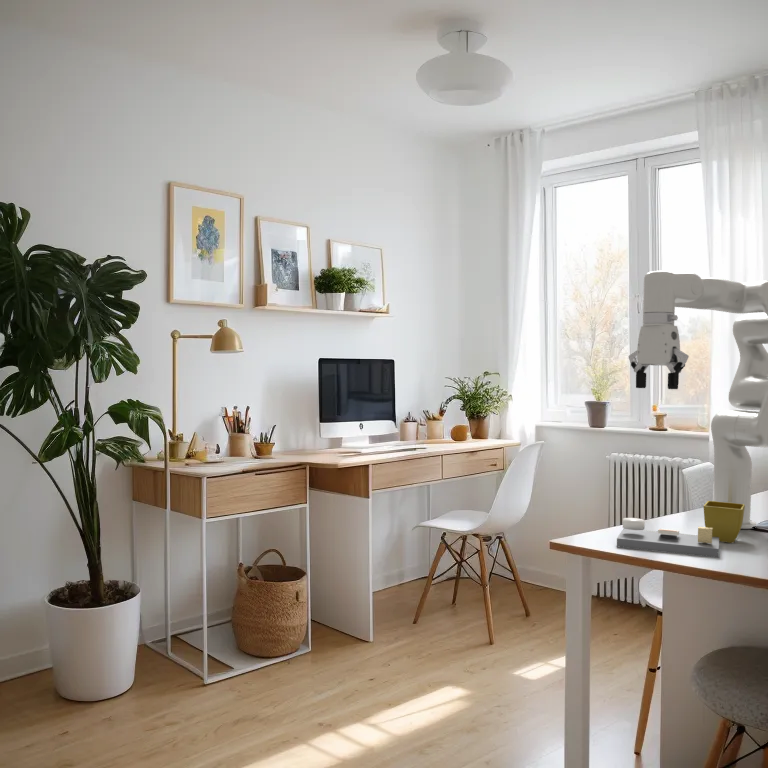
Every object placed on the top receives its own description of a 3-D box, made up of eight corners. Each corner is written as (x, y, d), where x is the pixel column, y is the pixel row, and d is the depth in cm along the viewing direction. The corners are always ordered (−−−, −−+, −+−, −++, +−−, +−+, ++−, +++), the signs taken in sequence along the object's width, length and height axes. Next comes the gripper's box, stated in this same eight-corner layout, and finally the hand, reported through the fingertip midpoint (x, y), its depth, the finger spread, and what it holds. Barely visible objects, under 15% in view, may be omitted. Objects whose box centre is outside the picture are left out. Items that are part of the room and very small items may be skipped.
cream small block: (697, 540, 179) (698, 526, 179) (711, 541, 178) (712, 527, 178) (697, 541, 177) (698, 528, 177) (711, 543, 176) (712, 529, 176)
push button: (623, 525, 190) (624, 517, 190) (645, 527, 188) (645, 519, 188) (621, 528, 185) (621, 520, 185) (643, 530, 183) (643, 522, 183)
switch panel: (623, 535, 194) (623, 525, 194) (718, 545, 185) (719, 534, 185) (616, 546, 181) (616, 535, 181) (718, 557, 172) (719, 546, 172)
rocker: (659, 531, 187) (659, 528, 187) (679, 533, 185) (679, 530, 185) (657, 533, 181) (658, 529, 181) (677, 535, 179) (678, 531, 180)
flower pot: (741, 546, 185) (742, 508, 185) (702, 541, 189) (703, 505, 189) (744, 539, 193) (745, 504, 193) (706, 535, 197) (707, 500, 197)
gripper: (697, 320, 189) (695, 389, 189) (640, 323, 204) (638, 387, 204) (678, 318, 185) (676, 389, 185) (621, 321, 200) (619, 387, 200)
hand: (656, 388), depth 195 cm, fingers open, 9 cm apart
